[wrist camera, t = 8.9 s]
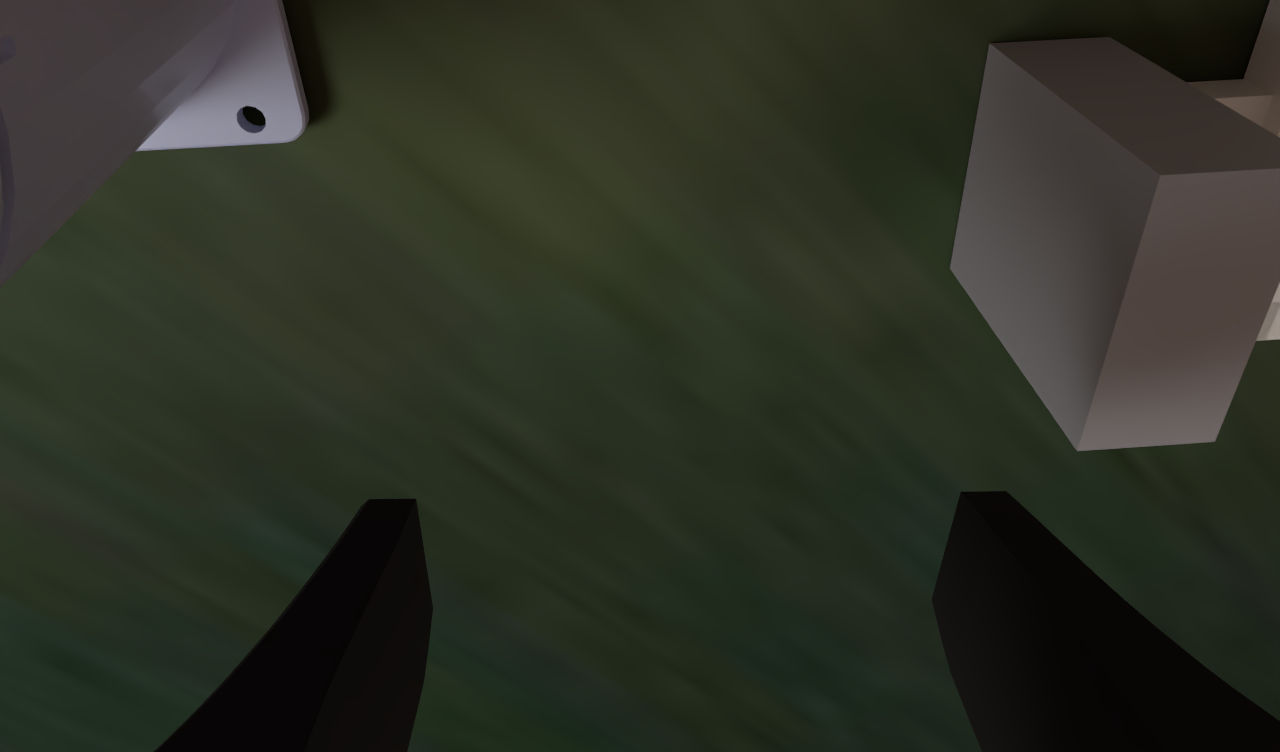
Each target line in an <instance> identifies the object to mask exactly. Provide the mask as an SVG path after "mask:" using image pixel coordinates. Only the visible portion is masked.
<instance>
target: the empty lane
mask: <svg viewBox="0 0 1280 752" xmlns="http://www.w3.org/2000/svg"><path fill="white" fill-rule="evenodd" d="M950 269H951V271H952V272H953V273H954V275H955V276H956V278H957V279H958V281H959V282H960V284H961V285H962V286H963V288H964V289H965V291H966V292H967V294H968V295H969V296H970V298H971V299H972V301H973V302H974V304H975V305H976V307H977V308H978V309H979V311H980V312H981V314H982V315H983V317H984V318H985V319H986V321H987V322H988V324H989V325H990V327H991V328H992V329H993V331H994V332H995V334H996V335H997V337H998V338H999V340H1000V341H1001V342H1002V344H1003V345H1004V347H1005V348H1006V350H1007V351H1008V352H1009V354H1010V355H1011V357H1012V358H1013V360H1014V361H1015V363H1016V364H1017V365H1018V367H1019V368H1020V370H1021V371H1022V373H1023V374H1024V375H1025V377H1026V378H1027V380H1028V381H1029V383H1030V384H1031V386H1032V387H1033V388H1034V390H1035V391H1036V393H1037V394H1038V396H1039V397H1040V398H1041V400H1042V401H1043V403H1044V404H1045V406H1046V407H1047V408H1048V410H1049V411H1050V413H1051V414H1052V416H1053V417H1054V419H1055V420H1056V421H1057V423H1058V424H1059V426H1060V427H1061V429H1062V430H1063V431H1064V433H1065V434H1066V436H1067V437H1068V439H1069V440H1070V442H1071V443H1072V444H1073V446H1074V447H1075V449H1076V450H1077V451H1086V450H1101V449H1115V448H1130V447H1144V446H1159V445H1173V444H1188V443H1202V442H1215V440H1216V437H1217V435H1218V432H1219V430H1220V428H1221V425H1222V423H1223V420H1224V418H1225V415H1226V413H1227V410H1228V408H1229V405H1230V403H1231V401H1232V398H1233V396H1234V393H1235V391H1236V388H1237V386H1238V383H1239V381H1240V378H1241V376H1242V374H1243V371H1244V369H1245V366H1246V364H1247V361H1248V359H1249V356H1250V354H1251V351H1252V349H1253V347H1254V344H1255V342H1256V341H1259V340H1274V339H1280V0H1270V1H1269V4H1268V7H1267V10H1266V13H1265V16H1264V19H1263V22H1262V25H1261V28H1260V31H1259V34H1258V37H1257V40H1256V43H1255V46H1254V49H1253V52H1252V55H1251V58H1250V61H1249V64H1248V67H1247V70H1246V73H1245V76H1244V79H1236V80H1218V81H1200V82H1185V81H1183V80H1182V79H1180V78H1178V77H1176V76H1175V75H1173V74H1171V73H1170V72H1168V71H1166V70H1165V69H1163V68H1161V67H1160V66H1158V65H1156V64H1154V63H1153V62H1151V61H1149V60H1148V59H1146V58H1144V57H1143V56H1141V55H1139V54H1138V53H1136V52H1134V51H1132V50H1131V49H1129V48H1127V47H1126V46H1124V45H1122V44H1121V43H1119V42H1117V41H1116V40H1114V39H1112V38H1110V37H1098V38H1079V39H1061V40H1042V41H1024V42H1005V43H989V49H988V54H987V60H986V66H985V71H984V77H983V83H982V89H981V94H980V100H979V106H978V111H977V117H976V123H975V128H974V134H973V140H972V145H971V151H970V157H969V163H968V168H967V174H966V180H965V185H964V191H963V197H962V202H961V208H960V214H959V219H958V225H957V231H956V237H955V242H954V248H953V254H952V259H951V265H950Z"/></svg>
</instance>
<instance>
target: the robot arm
mask: <svg viewBox="0 0 1280 752" xmlns="http://www.w3.org/2000/svg"><path fill="white" fill-rule="evenodd" d="M245 106H251V107H256V108H257V109H258V110H260V111H261V112H262V113H263V115H264V117H265V119H266V124H265V125H262V126H258V125H253V124H251V123H250V122H249V121H247V120H246V118H245V116H244V115H243V107H245ZM308 122H309V109H308V105H307V101H306V97H305V93H304V89H303V85H302V80H301V76H300V72H299V68H298V64H297V60H296V56H295V51H294V47H293V43H292V39H291V35H290V31H289V27H288V22H287V18H286V14H285V10H284V6H283V2H282V0H0V288H1V287H2V286H3V285H4V284H5V283H6V282H7V281H8V280H9V279H10V278H11V277H12V276H13V275H14V274H15V273H16V272H17V271H18V269H19V268H20V267H21V266H22V265H23V264H24V263H25V262H26V261H27V260H28V259H29V258H30V257H31V256H32V255H33V254H34V253H35V252H36V251H37V250H38V249H39V248H40V247H41V246H42V245H43V244H44V243H45V242H46V241H47V240H48V239H49V238H50V237H51V236H52V235H53V234H54V233H55V232H56V231H57V230H58V229H59V228H60V227H61V226H62V225H63V224H64V223H65V222H66V221H67V220H68V219H69V218H70V217H71V216H72V215H73V214H74V213H75V212H76V211H77V210H78V209H79V208H80V207H81V206H82V205H83V204H84V203H85V202H86V201H87V200H88V199H89V198H90V197H91V196H92V195H93V193H94V192H95V191H96V190H97V189H98V188H99V187H100V186H101V185H102V184H103V183H104V182H105V181H106V180H107V179H108V178H109V177H110V176H111V175H112V174H113V173H114V172H115V171H116V170H117V169H118V168H119V167H120V166H121V165H122V164H123V163H124V162H125V161H126V160H127V159H128V158H129V157H130V156H131V155H132V154H133V153H134V152H135V151H146V150H163V149H181V148H199V147H217V146H235V145H252V144H270V143H286V142H290V141H294V140H296V139H297V138H298V137H299V136H300V135H302V133H303V132H304V130H305V129H306V126H307V124H308ZM932 602H933V606H934V611H935V615H936V619H937V623H938V627H939V631H940V635H941V639H942V643H943V647H944V650H945V654H946V658H947V661H948V665H949V669H950V672H951V674H952V677H953V679H954V682H955V685H956V687H957V690H958V692H959V695H960V697H961V700H962V702H963V705H964V708H965V710H966V713H967V715H968V718H969V720H970V723H971V725H972V728H973V730H974V733H975V735H976V738H977V740H978V743H979V745H980V748H981V750H982V752H1280V721H1279V720H1277V719H1276V718H1275V717H1273V716H1272V715H1270V714H1269V713H1268V712H1266V711H1265V710H1263V709H1262V708H1261V707H1259V706H1258V705H1256V704H1255V703H1253V702H1252V701H1251V700H1249V699H1248V698H1246V697H1245V696H1244V695H1242V694H1241V693H1239V692H1238V691H1237V690H1235V689H1234V688H1232V687H1231V686H1230V685H1229V684H1227V683H1226V682H1225V681H1223V680H1222V679H1221V678H1219V677H1218V676H1217V675H1215V674H1214V673H1213V672H1211V671H1210V670H1209V669H1207V668H1206V667H1205V666H1204V665H1202V664H1201V663H1200V662H1199V661H1197V660H1196V659H1195V658H1194V657H1192V656H1191V655H1190V654H1189V653H1187V652H1186V651H1185V650H1184V649H1183V648H1181V647H1180V646H1179V645H1178V644H1176V643H1175V642H1174V641H1173V640H1171V639H1170V638H1169V637H1168V636H1166V635H1165V634H1164V633H1163V632H1161V631H1160V630H1159V629H1158V628H1157V627H1156V626H1154V625H1153V624H1152V623H1151V622H1150V621H1148V620H1147V619H1146V618H1145V617H1144V616H1143V615H1141V614H1140V613H1139V612H1138V611H1137V610H1136V609H1134V608H1133V607H1132V606H1131V605H1130V604H1129V603H1128V602H1126V601H1125V600H1124V599H1123V598H1122V597H1121V596H1120V595H1119V594H1117V593H1116V592H1115V591H1114V590H1113V589H1112V588H1111V587H1110V586H1108V585H1107V584H1106V583H1105V582H1104V581H1103V580H1102V579H1101V578H1100V577H1098V576H1097V575H1096V574H1095V573H1094V572H1093V571H1092V570H1091V569H1090V568H1089V567H1087V566H1086V565H1085V564H1084V563H1083V562H1082V561H1081V560H1080V559H1079V558H1078V557H1077V556H1076V555H1075V554H1073V553H1072V552H1071V551H1070V550H1069V549H1068V548H1067V547H1066V546H1065V545H1064V544H1063V543H1062V542H1061V541H1059V540H1058V539H1057V538H1056V537H1055V536H1054V535H1053V534H1052V533H1051V532H1050V531H1049V530H1048V529H1047V528H1046V527H1045V526H1043V525H1042V524H1041V523H1040V522H1039V521H1038V520H1037V519H1036V518H1035V517H1034V516H1033V515H1032V514H1031V513H1030V512H1028V511H1027V510H1026V509H1025V508H1024V507H1023V506H1022V505H1021V504H1020V503H1019V502H1018V501H1016V500H1015V499H1014V498H1013V497H1012V496H1011V495H1010V494H1009V493H1007V492H1006V491H990V492H961V493H960V497H959V501H958V504H957V508H956V512H955V515H954V519H953V523H952V527H951V530H950V534H949V538H948V541H947V545H946V549H945V552H944V556H943V560H942V563H941V567H940V571H939V575H938V578H937V582H936V586H935V589H934V593H933V597H932ZM432 612H433V605H432V599H431V592H430V586H429V580H428V573H427V567H426V560H425V554H424V547H423V541H422V534H421V528H420V522H419V515H418V509H417V502H416V499H369V500H368V501H367V502H366V503H364V504H363V505H362V506H361V508H360V509H359V511H358V512H357V513H356V515H355V516H354V518H353V519H352V521H351V522H350V524H349V525H348V526H347V528H346V529H345V531H344V532H343V534H342V535H341V536H340V538H339V539H338V541H337V542H336V544H335V545H334V546H333V548H332V549H331V550H330V552H329V553H328V555H327V556H326V557H325V559H324V560H323V561H322V563H321V564H320V565H319V567H318V568H317V569H316V571H315V572H314V573H313V575H312V576H311V577H310V579H309V580H308V581H307V583H306V584H305V585H304V586H303V588H302V589H301V590H300V592H299V593H298V594H297V595H296V597H295V598H294V599H293V600H292V602H291V603H290V604H289V605H288V607H287V608H286V609H285V610H284V612H283V613H282V614H281V616H280V617H279V618H278V619H277V621H276V622H275V623H274V624H273V625H272V627H271V628H270V629H269V630H268V631H267V633H266V634H265V635H264V636H263V637H262V638H261V640H260V641H259V642H258V643H257V644H256V645H255V646H254V648H253V649H252V650H251V651H250V652H249V653H248V654H247V656H246V657H245V658H244V659H243V660H242V661H241V662H240V664H239V665H238V666H237V667H236V668H235V669H234V670H233V671H232V673H231V674H230V675H229V676H228V677H227V678H226V679H225V681H224V682H223V683H222V684H221V685H220V686H219V687H218V688H217V689H216V690H215V691H214V692H213V693H212V694H211V695H210V697H209V698H208V699H207V700H206V701H205V702H204V703H203V704H202V705H201V706H200V707H199V708H198V709H197V710H196V711H195V712H194V713H193V714H192V715H191V716H190V717H189V718H188V719H187V720H186V721H185V722H184V723H183V724H182V725H181V726H180V727H179V728H178V729H177V730H176V731H175V732H174V733H173V734H172V735H171V736H170V737H169V738H168V739H167V740H166V741H165V742H164V743H163V744H162V745H161V746H159V747H158V748H157V749H156V750H155V751H154V752H407V750H408V746H409V742H410V738H411V733H412V729H413V725H414V721H415V717H416V713H417V708H418V704H419V700H420V696H421V691H422V687H423V683H424V677H425V669H426V662H427V654H428V646H429V638H430V629H431V620H432Z"/></svg>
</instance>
